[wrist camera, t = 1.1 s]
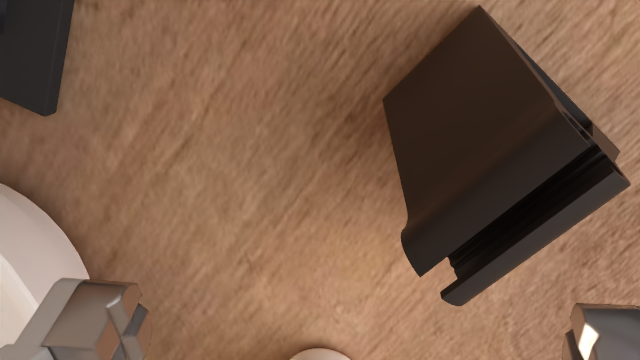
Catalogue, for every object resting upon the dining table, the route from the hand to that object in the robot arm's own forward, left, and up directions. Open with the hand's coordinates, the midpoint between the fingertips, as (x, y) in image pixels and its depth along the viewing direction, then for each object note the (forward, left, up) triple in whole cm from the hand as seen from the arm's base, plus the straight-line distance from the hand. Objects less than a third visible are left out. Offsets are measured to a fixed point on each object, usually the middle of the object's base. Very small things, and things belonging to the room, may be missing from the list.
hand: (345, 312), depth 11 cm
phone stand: (-1, +3, -18) cm, 19 cm away
